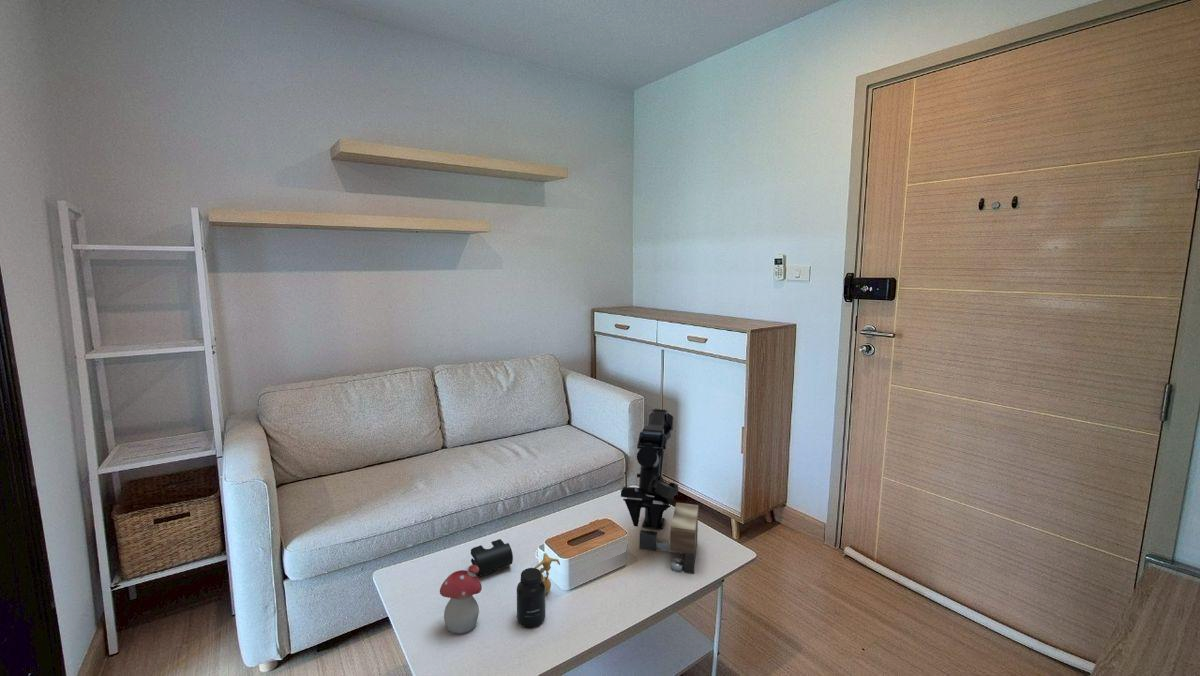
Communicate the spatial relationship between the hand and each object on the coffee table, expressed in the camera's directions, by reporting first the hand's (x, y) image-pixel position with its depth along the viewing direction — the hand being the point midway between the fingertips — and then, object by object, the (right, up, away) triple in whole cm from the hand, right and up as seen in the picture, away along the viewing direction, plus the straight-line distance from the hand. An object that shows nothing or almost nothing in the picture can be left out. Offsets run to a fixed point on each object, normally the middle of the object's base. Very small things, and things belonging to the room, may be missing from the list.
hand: (645, 527), depth 142 cm
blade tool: (+6, -9, +6) cm, 12 cm away
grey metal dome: (+9, -10, -3) cm, 14 cm away
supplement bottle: (-29, -14, -22) cm, 39 cm away
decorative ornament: (-45, -14, -24) cm, 53 cm away
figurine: (-27, -12, -13) cm, 33 cm away
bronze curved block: (+11, -9, +2) cm, 15 cm away
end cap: (-43, -11, -3) cm, 45 cm away
